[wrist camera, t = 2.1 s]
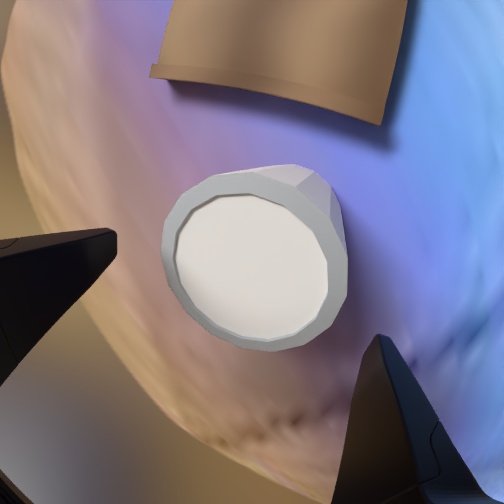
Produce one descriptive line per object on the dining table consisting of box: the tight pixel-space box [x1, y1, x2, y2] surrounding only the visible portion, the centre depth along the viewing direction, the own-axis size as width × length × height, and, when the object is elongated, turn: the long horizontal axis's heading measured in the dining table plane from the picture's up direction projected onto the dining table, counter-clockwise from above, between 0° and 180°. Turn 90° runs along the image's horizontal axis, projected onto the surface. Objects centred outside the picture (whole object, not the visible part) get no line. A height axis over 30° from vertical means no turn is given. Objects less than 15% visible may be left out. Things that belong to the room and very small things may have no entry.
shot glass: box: [161, 164, 348, 352], centre depth 13 cm, size 7×7×7 cm
